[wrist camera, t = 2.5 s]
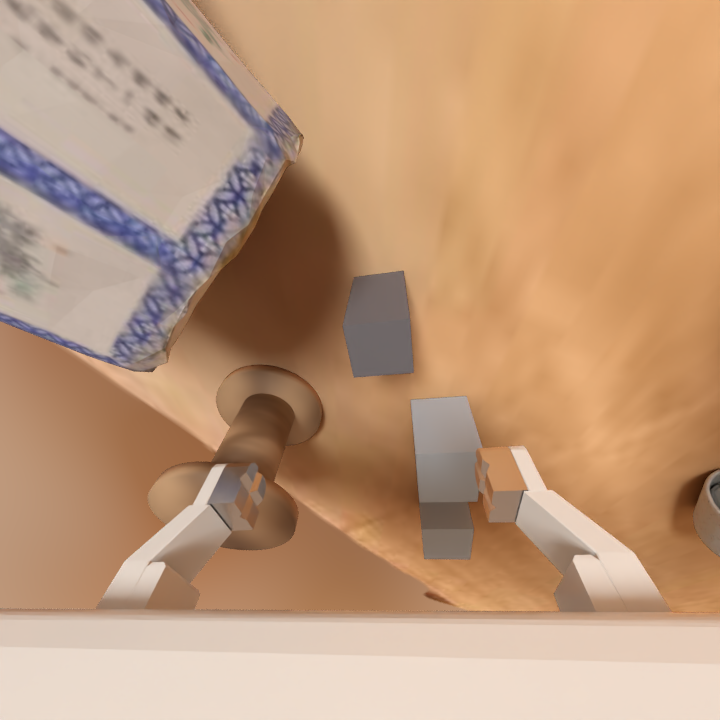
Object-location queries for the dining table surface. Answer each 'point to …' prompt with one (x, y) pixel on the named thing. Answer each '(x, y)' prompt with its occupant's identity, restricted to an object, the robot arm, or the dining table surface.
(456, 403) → the gray stepped block
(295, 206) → the dining table surface
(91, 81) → the potted plant
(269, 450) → the wooden door knob
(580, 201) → the dining table surface
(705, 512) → the ceramic mug
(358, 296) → the dark gray rectangular block
